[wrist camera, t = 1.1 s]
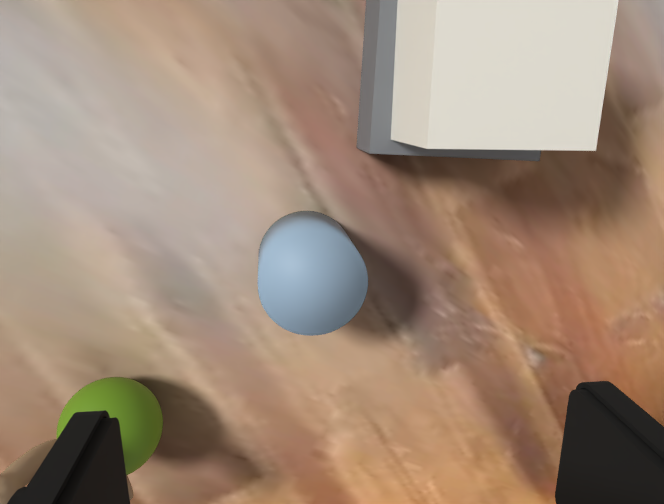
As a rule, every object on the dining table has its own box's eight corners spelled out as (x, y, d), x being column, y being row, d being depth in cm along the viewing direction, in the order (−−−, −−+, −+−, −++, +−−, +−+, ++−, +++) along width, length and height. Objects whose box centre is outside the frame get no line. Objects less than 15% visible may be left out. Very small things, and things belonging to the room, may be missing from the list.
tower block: (524, 141, 27) (595, 150, 21) (390, 139, 26) (427, 148, 20) (541, -9, 25) (624, -44, 19) (398, -17, 24) (440, -55, 18)
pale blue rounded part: (348, 301, 32) (363, 335, 27) (257, 300, 31) (256, 335, 26) (355, 212, 30) (372, 232, 26) (259, 209, 30) (259, 229, 25)
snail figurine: (103, 332, 30) (7, 469, 19) (188, 397, 32) (148, 558, 21) (43, 395, 31) (-86, 565, 20) (130, 455, 33) (58, 643, 21)
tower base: (505, 154, 31) (539, 161, 27) (355, 147, 30) (369, 153, 26) (528, -13, 29) (569, -31, 25) (366, -28, 27) (383, -49, 24)
